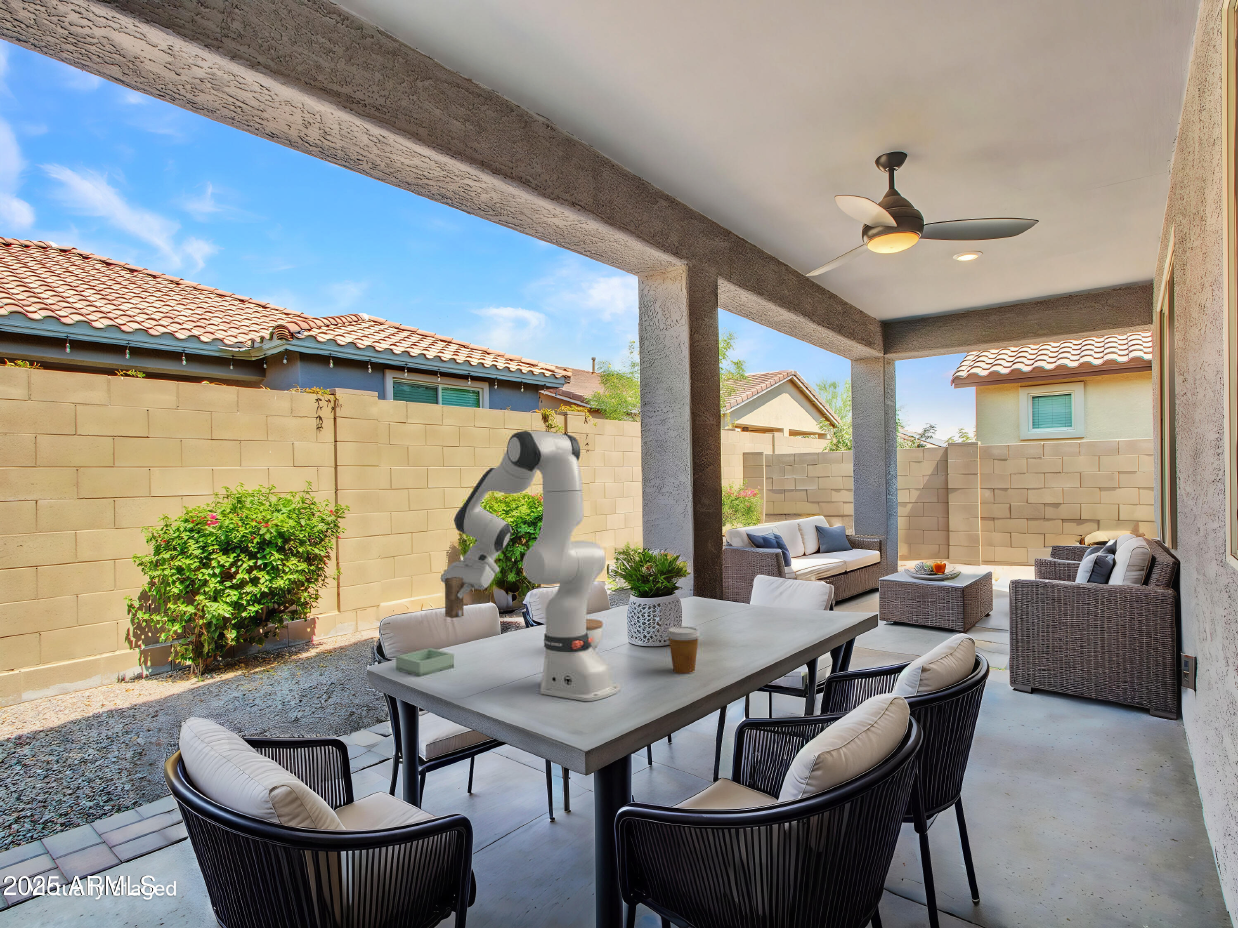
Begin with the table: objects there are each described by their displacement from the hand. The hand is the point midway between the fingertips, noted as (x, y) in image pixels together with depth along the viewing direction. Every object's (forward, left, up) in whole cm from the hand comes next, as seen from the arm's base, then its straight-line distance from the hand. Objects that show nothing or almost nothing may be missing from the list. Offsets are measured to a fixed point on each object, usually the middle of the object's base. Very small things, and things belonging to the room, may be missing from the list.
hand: (452, 596), depth 204 cm
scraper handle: (0, -1, -6) cm, 6 cm away
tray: (0, +10, -20) cm, 23 cm away
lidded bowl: (-24, -35, -20) cm, 47 cm away
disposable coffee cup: (-64, -34, -20) cm, 75 cm away
